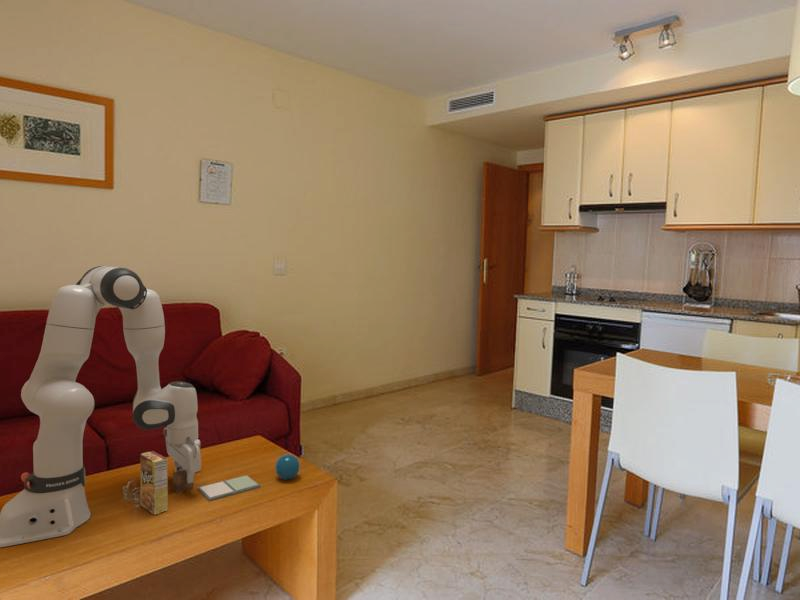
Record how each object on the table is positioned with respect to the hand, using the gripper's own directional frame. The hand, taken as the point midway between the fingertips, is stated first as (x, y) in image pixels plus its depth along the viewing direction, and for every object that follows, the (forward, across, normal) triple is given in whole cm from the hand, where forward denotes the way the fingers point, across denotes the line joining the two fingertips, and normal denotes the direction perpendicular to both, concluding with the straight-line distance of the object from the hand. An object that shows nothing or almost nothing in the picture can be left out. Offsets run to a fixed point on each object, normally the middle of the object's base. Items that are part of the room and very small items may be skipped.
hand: (184, 477), depth 166 cm
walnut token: (+3, -1, +1) cm, 4 cm away
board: (+4, -9, -10) cm, 14 cm away
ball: (+4, -14, -28) cm, 32 cm away
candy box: (+3, -8, +12) cm, 15 cm away
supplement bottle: (+4, +12, -6) cm, 14 cm away
